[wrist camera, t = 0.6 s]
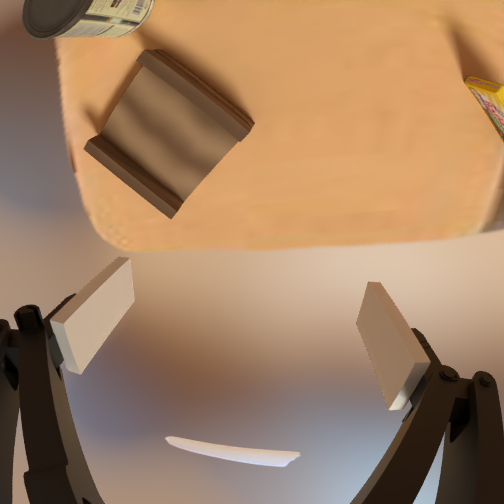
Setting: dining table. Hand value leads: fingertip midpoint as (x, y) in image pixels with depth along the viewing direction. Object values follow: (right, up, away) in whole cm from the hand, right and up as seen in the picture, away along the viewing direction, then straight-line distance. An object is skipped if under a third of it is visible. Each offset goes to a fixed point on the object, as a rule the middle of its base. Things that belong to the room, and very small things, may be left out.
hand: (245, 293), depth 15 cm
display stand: (-11, +19, +20) cm, 29 cm away
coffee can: (-17, +35, +9) cm, 40 cm away
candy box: (+36, +22, +12) cm, 44 cm away
